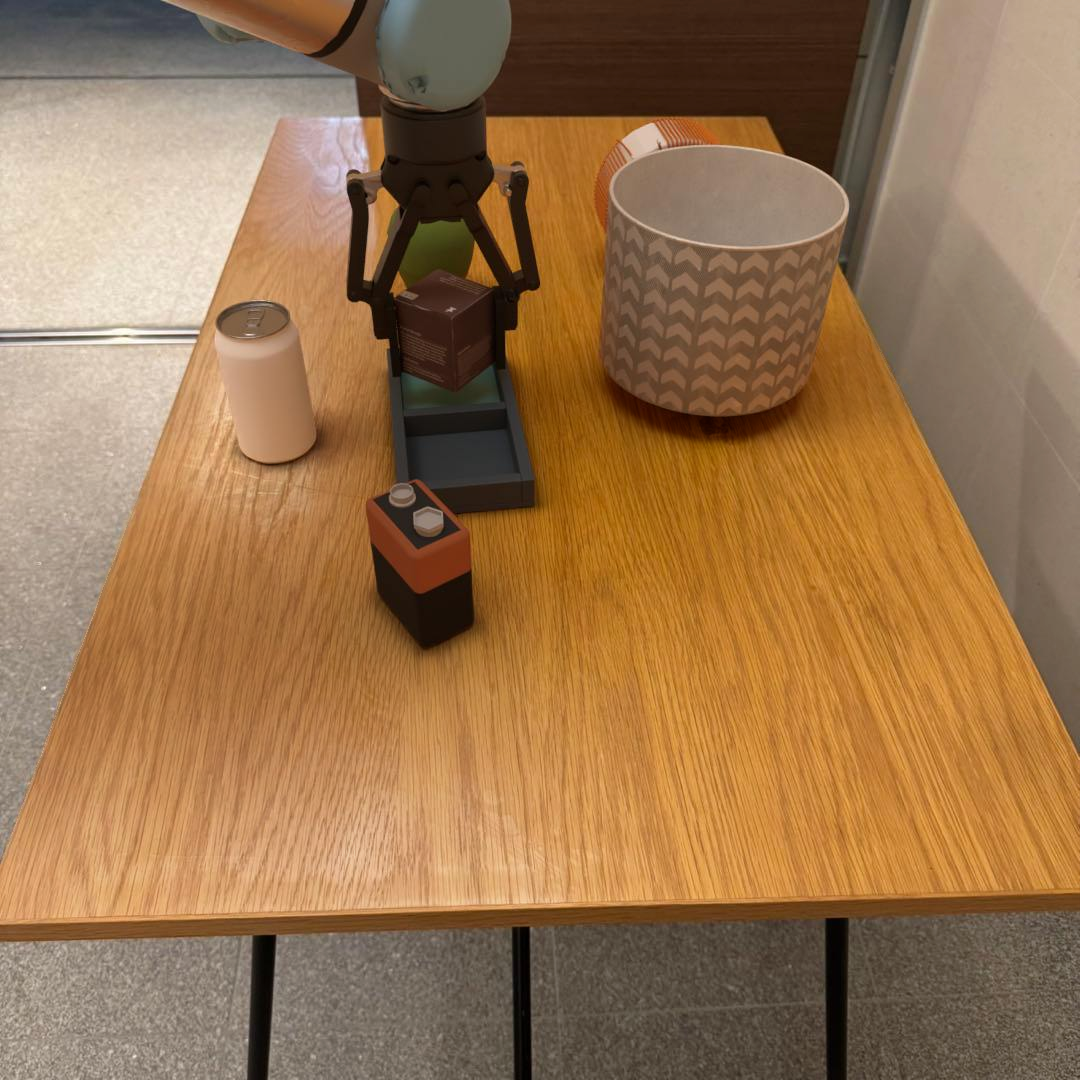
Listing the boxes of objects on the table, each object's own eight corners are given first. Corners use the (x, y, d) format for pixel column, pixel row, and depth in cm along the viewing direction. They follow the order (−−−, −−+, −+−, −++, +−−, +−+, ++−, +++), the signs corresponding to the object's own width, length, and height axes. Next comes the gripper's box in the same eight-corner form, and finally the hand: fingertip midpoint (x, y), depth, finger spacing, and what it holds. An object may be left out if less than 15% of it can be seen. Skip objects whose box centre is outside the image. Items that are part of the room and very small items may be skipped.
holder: (400, 518, 78) (397, 491, 76) (389, 374, 92) (386, 348, 90) (534, 506, 79) (534, 479, 77) (502, 365, 94) (502, 339, 92)
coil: (589, 255, 110) (596, 117, 99) (721, 245, 112) (741, 109, 101) (603, 286, 105) (611, 145, 94) (740, 276, 107) (763, 136, 96)
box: (497, 364, 87) (496, 288, 82) (455, 396, 83) (451, 319, 78) (442, 342, 89) (438, 266, 84) (398, 372, 86) (391, 295, 81)
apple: (487, 320, 99) (484, 210, 91) (403, 332, 98) (393, 220, 90) (467, 278, 105) (462, 171, 98) (388, 289, 104) (377, 181, 96)
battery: (423, 653, 68) (412, 547, 61) (375, 594, 72) (359, 488, 65) (477, 625, 70) (472, 520, 63) (427, 569, 74) (417, 464, 67)
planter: (598, 442, 85) (611, 244, 73) (596, 324, 99) (606, 141, 87) (821, 448, 85) (872, 251, 73) (787, 329, 99) (826, 146, 86)
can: (234, 468, 82) (203, 342, 74) (244, 421, 87) (215, 298, 79) (314, 464, 83) (291, 339, 74) (320, 418, 87) (299, 295, 79)
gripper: (569, 69, 75) (560, 333, 90) (283, 80, 72) (325, 349, 88) (588, 106, 69) (575, 379, 85) (279, 119, 67) (324, 398, 82)
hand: (448, 364), depth 86 cm, fingers closed on box, 8 cm apart
